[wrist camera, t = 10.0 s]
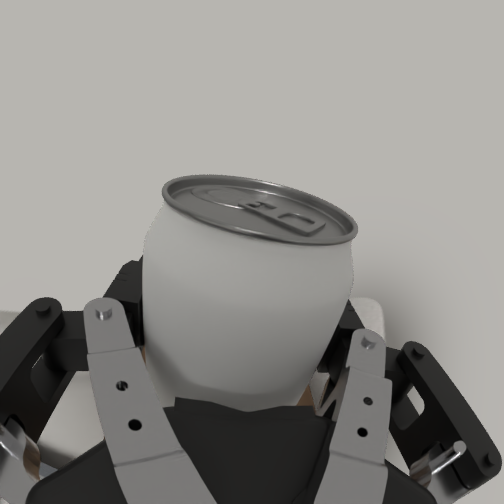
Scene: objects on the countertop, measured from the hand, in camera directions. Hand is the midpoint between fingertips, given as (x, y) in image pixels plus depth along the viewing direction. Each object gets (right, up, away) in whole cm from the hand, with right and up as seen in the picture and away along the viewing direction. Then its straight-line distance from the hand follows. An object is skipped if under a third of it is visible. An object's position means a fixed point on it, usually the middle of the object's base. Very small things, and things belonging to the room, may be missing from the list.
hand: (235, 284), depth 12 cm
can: (-1, -8, +1) cm, 8 cm away
